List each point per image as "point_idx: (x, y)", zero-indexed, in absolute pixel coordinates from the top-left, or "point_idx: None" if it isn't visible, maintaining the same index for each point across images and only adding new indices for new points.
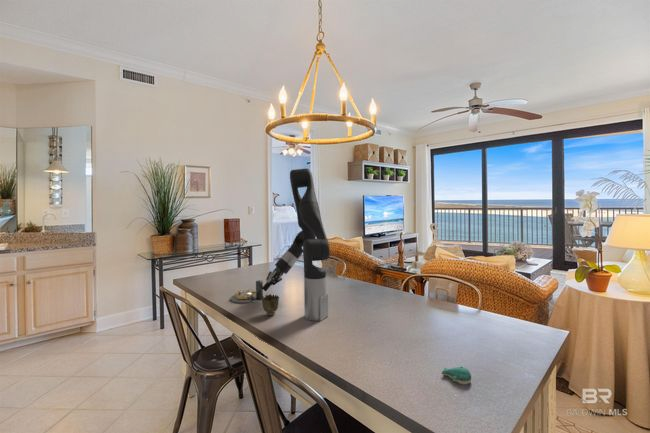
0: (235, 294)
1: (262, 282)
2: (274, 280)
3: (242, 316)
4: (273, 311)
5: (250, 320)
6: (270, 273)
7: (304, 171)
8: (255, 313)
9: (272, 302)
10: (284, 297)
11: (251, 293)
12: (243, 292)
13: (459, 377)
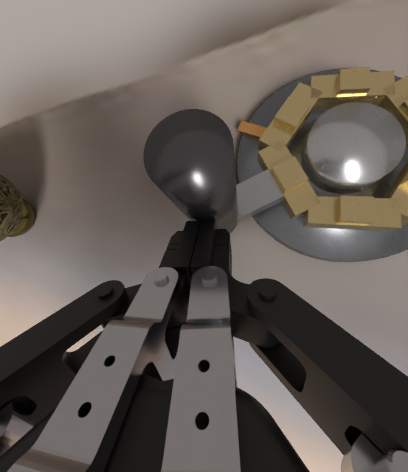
0: (340, 69)
1: (169, 196)
2: (36, 338)
3: (75, 112)
4: None
5: (21, 134)
6: (387, 457)
7: None
8: (75, 165)
9: None
10: None
11: (331, 180)
12: (374, 125)
13: None
